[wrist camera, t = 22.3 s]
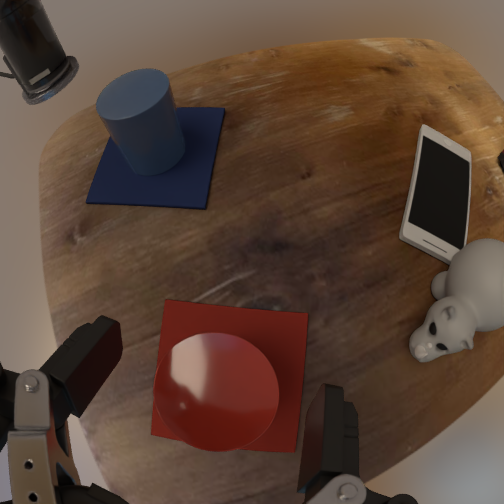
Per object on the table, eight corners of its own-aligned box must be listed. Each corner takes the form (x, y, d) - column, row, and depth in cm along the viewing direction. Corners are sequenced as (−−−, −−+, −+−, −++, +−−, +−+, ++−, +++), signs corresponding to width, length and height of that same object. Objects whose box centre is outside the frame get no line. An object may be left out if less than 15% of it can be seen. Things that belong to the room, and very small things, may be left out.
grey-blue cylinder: (118, 176, 27) (84, 122, 19) (136, 127, 29) (112, 72, 21) (178, 177, 27) (156, 117, 19) (191, 126, 29) (177, 65, 21)
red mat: (152, 433, 20) (150, 434, 20) (166, 299, 23) (165, 299, 23) (294, 451, 20) (295, 452, 19) (307, 313, 23) (308, 313, 23)
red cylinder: (182, 413, 20) (148, 439, 13) (190, 334, 22) (160, 323, 15) (265, 423, 20) (272, 457, 12) (274, 343, 22) (285, 338, 14)
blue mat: (87, 203, 26) (85, 202, 26) (122, 112, 30) (121, 110, 30) (205, 209, 26) (204, 207, 26) (225, 110, 30) (224, 107, 29)
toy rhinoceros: (368, 318, 23) (413, 304, 15) (458, 243, 24) (510, 207, 16) (410, 385, 21) (465, 399, 13) (492, 303, 22) (551, 285, 14)
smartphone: (468, 155, 28) (471, 151, 28) (457, 270, 24) (463, 267, 23) (419, 127, 30) (422, 122, 29) (397, 238, 25) (401, 234, 24)
